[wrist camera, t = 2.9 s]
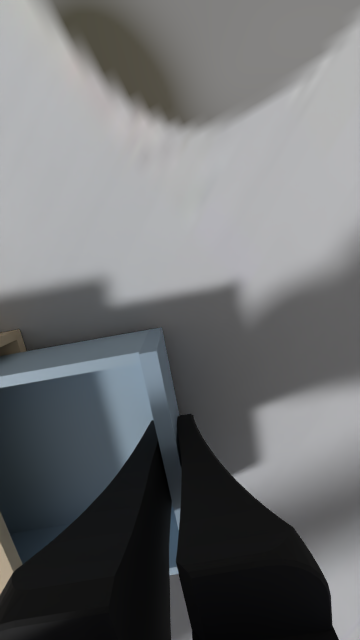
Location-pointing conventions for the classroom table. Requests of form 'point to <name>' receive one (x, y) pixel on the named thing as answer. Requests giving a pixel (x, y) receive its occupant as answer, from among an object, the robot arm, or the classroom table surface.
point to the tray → (81, 430)
